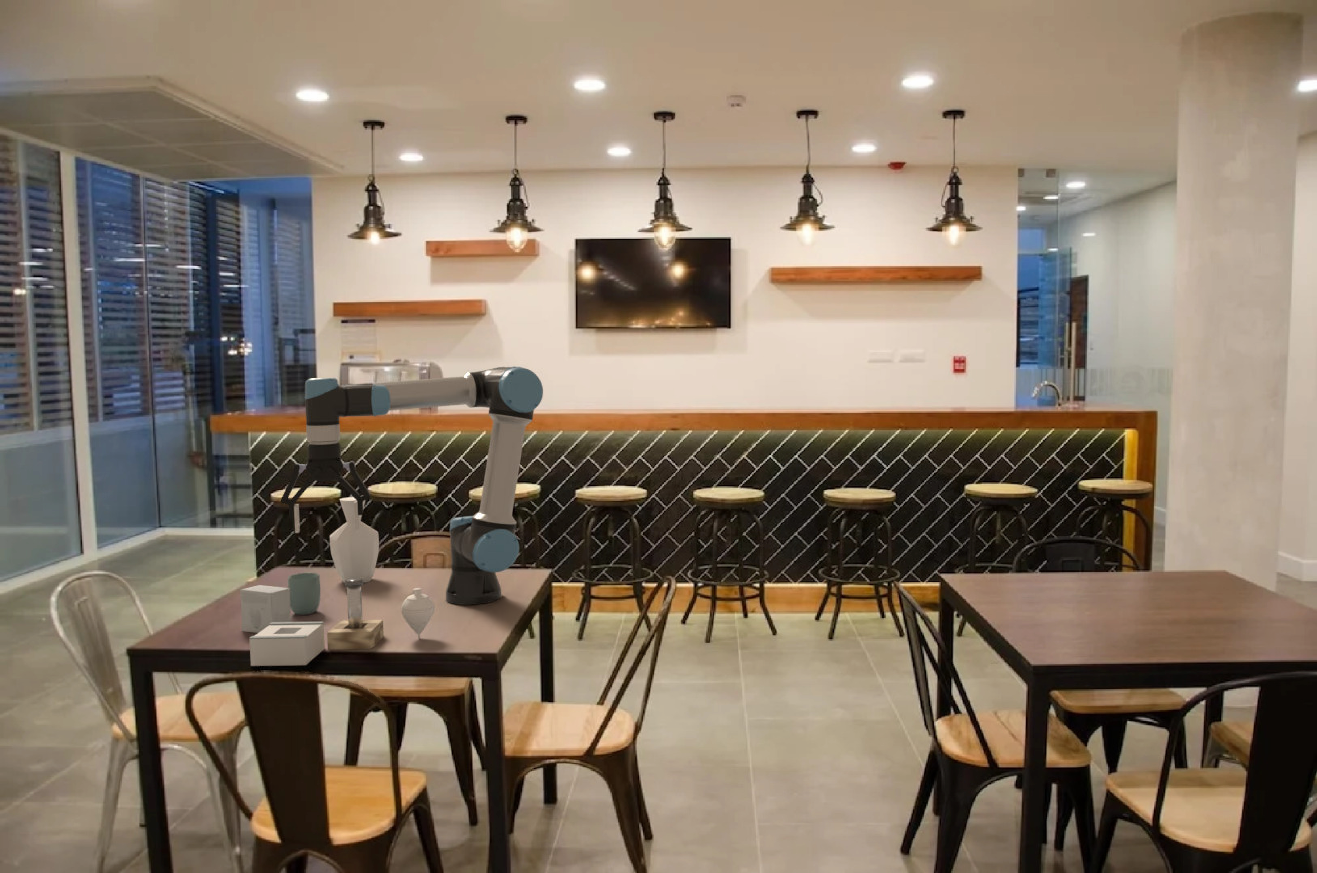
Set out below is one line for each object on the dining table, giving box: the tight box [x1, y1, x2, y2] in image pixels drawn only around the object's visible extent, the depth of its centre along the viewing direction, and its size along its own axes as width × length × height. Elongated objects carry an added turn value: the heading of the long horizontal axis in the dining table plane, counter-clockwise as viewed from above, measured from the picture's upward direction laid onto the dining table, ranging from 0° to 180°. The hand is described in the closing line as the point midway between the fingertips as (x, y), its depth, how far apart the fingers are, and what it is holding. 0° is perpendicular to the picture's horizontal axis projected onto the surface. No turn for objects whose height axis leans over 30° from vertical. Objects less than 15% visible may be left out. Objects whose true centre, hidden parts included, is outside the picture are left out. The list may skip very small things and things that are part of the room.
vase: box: [329, 496, 380, 584], centre depth 284 cm, size 14×14×25 cm
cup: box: [287, 572, 321, 616], centre depth 248 cm, size 8×8×10 cm
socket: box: [249, 621, 326, 667], centre depth 212 cm, size 12×12×6 cm
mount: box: [326, 619, 385, 650], centre depth 222 cm, size 10×10×4 cm
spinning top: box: [400, 587, 435, 639], centre depth 225 cm, size 8×8×12 cm
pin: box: [344, 578, 364, 629], centre depth 221 cm, size 4×4×15 cm
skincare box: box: [239, 584, 292, 634], centre depth 233 cm, size 10×6×10 cm, turn 66°
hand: (327, 530), depth 227 cm, fingers open, 13 cm apart
